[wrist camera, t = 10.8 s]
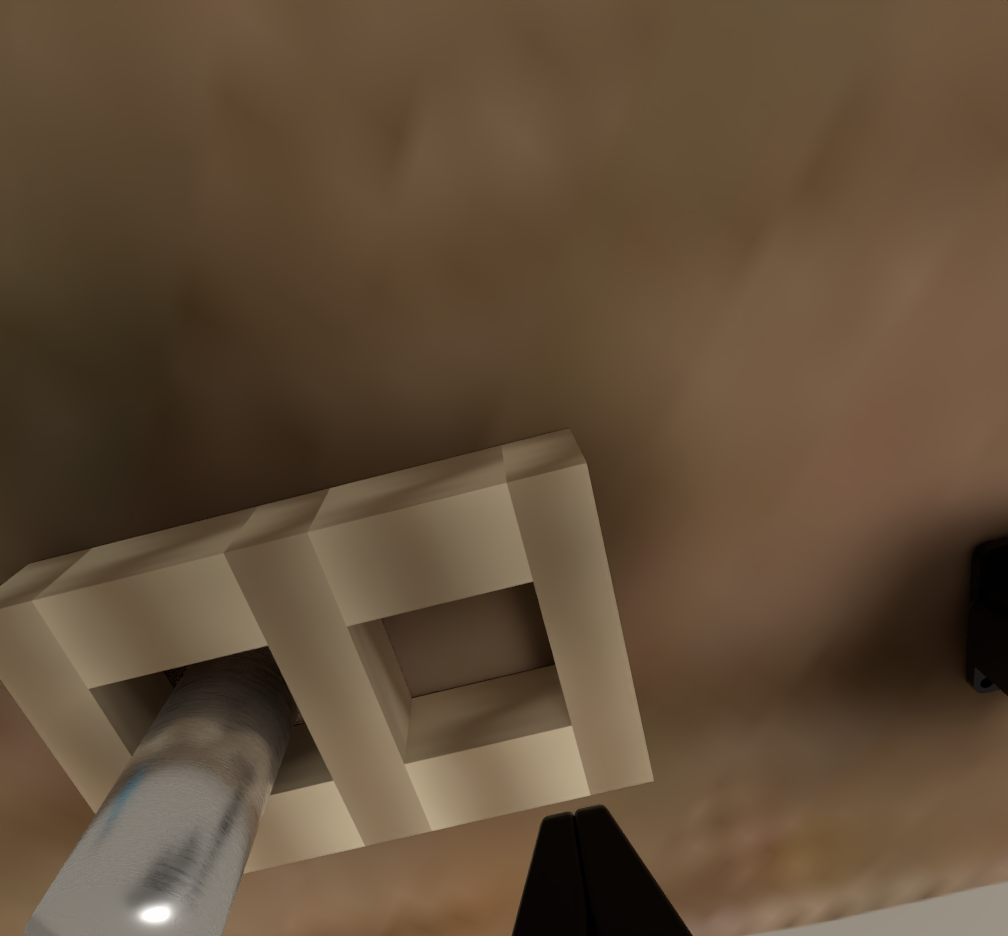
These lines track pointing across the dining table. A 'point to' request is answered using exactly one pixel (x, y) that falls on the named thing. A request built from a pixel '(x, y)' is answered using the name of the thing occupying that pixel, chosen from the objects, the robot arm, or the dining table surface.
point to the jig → (349, 646)
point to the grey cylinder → (180, 810)
